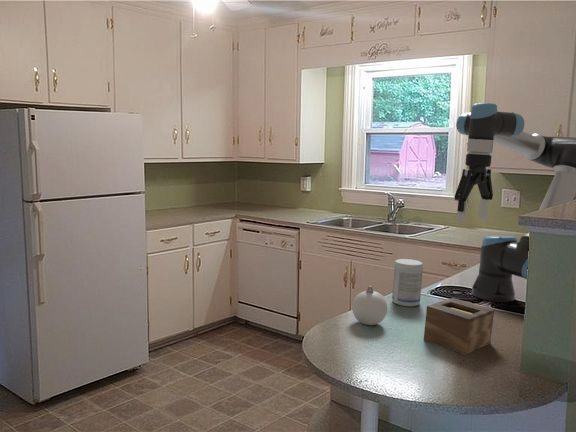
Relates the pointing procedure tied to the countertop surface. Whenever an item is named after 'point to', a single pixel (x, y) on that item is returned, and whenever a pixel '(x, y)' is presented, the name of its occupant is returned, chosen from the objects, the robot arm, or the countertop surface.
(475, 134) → the robot arm
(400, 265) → the supplement tub
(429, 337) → the brown wooden slotted box
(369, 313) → the ornament
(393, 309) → the countertop surface
